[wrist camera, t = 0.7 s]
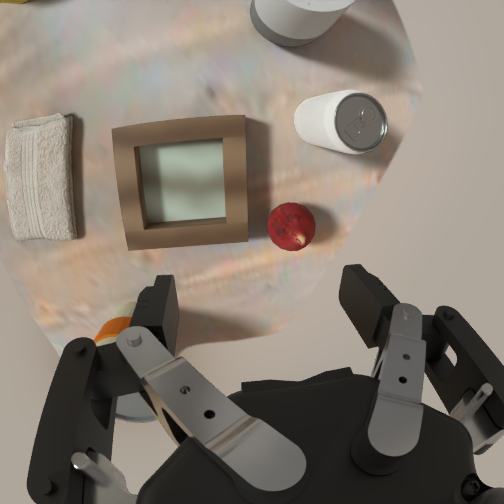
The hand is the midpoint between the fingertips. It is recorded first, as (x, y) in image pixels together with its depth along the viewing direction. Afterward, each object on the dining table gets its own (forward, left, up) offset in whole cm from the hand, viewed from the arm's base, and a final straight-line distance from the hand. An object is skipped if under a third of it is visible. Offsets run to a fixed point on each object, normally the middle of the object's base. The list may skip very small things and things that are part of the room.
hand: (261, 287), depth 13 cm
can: (-8, +11, -25) cm, 28 cm away
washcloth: (-4, -27, -25) cm, 37 cm away
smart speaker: (-22, +7, -25) cm, 34 cm away
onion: (+5, +7, -25) cm, 26 cm away
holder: (-1, -6, -24) cm, 25 cm away
